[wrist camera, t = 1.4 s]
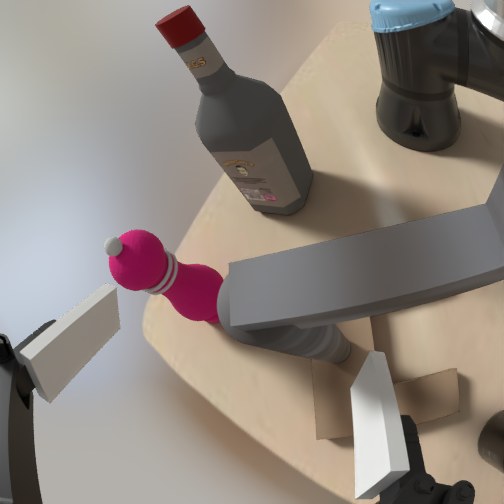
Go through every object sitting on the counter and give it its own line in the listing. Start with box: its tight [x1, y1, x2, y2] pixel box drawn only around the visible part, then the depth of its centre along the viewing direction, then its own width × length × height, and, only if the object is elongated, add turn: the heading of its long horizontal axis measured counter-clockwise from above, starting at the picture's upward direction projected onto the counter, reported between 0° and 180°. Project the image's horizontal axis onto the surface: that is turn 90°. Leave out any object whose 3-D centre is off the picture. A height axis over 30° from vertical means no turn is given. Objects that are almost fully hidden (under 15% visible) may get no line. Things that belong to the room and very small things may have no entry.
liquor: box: [155, 5, 313, 215], centre depth 30 cm, size 9×9×30 cm
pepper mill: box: [104, 230, 224, 323], centre depth 31 cm, size 7×7×20 cm
